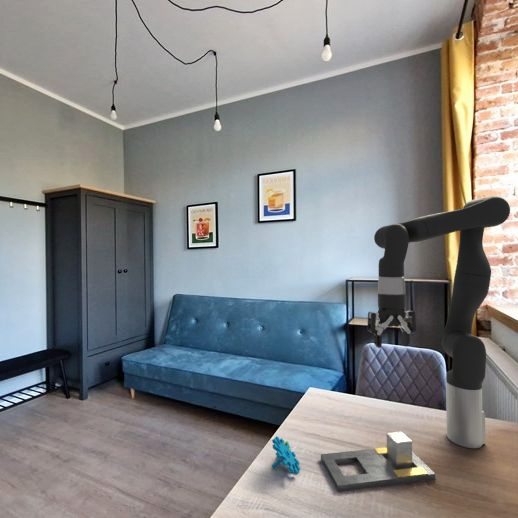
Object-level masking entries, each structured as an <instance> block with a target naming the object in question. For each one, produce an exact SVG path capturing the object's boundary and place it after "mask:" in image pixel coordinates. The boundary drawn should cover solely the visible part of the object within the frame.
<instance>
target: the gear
mask: <svg viewBox="0 0 518 518" xmlns="http://www.w3.org/2000/svg"><path fill="white" fill-rule="evenodd" d="M271 442H272V443H273V444H272V449H273V450H274V451H276V453H275V456H276V458H277V460H276V461H275V462H274V463H273V464H272V465H271V467H272V469H273V470H276V468H277V467H278V466H279V465H280V464H281V465H282V466H283V468H285V467H286V466H288V467H287V470H288V472H289V473H290V474H294V475H298V474H299V472H300V471H301V467H300V460H299V459H297V458H296V456H297V455H296V453H295V451H292V450H291V446H290V443H289V441H288V440H287V441H285V440H284V439H283V438H280V437H279V436H278V435H276V436H275V437H274V438H273V439H272V441H271Z"/></svg>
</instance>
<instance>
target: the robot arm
mask: <svg viewBox="0 0 518 518" xmlns="http://www.w3.org/2000/svg"><path fill="white" fill-rule="evenodd" d="M510 213H511V206H510V204H509V202H508V201H507V200H506V199H505V198H503V197H502V196H494V195H493V196H485V197H480V198H475V199H472V200H468V201H467V202H466V203H465V204H464V205H463V207H462V208H460V209H455V210H450V211H445V212H444V211H443V212H439V213H438V212H437V213H433V214H428V215H423V216H420V217H417V218H413V219H411V220H408V221H405V222H399V223H394V224H388V225H385V226H381V227H380V228H378V229H377V230H376V232H375V234H374V237H373V238H374V243H375V244H376V246H377V247H379V248H381V249H384V254H383V256H382V257H381V258H380V259H379V260H378V279H377V280H378V281H377V306H378V311H377V312H374V311H373V312H372V311H368V313H367V329H366V330H367V332H369V333H371V334H373V344H374V346H375V347H376V348H379V349H381V348H382V345H383V344H382V343H383V342H382V333H383V332H384V331H385V330H386V329H387V328H389V327H391V328H392V327H397V328H398V327H399V329H400V330H401V345H402V346H404V347H409V345H410V342H411V341H410V339H411V338H410V335H411V333H412V332H416V331H417V323H416V312H415V311H413V310H409V309H407V310H406V311H405V309H406V282H405V281H406V280H405V260H406V257H407V253H408V247H409V244H410V243H417V242H423V241H427V240H431V239H434V238H439V237H441V236H445V235H448V234H452V233H455V232H459V244H458V245H459V246H458V251H457V252H458V253H457V260H456V265H455V266H456V268H455V270H454V278H453V285H452V294H451V300H450V305H449V312H448V315H447V319H446V324H445V327H444V330H443V334H442V338H441V346H442V350H443V351H444V353H445V354H446V355H447V356H449V357H451V358H452V368H451V370H447V372H446V374H445V375H446V376H445V378H446V379H445V381H446V383H445V385H446V387H445V388H446V389H445V392H446V395H445V397H446V400H445V403H446V404H445V405H446V408H445V410H446V437H447V438H448V440H450V441H451V442H452V443H454V444H455V445H458V446H461V447H464V448H468V449H479V448H481V447H482V446H483V445H485V444H486V412H485V411H484V410H483V382H484V380H485V378H486V370H487V369H486V368H487V367H486V366H487V350H486V345H485V343H484V342H483V340H482V339H481V338H479V337H478V336H477V335H474V334H472V329H473V321H474V317H475V315H476V314H477V311H478V310H479V308H480V307H481V306H482V304H483V302H484V301H485V299H486V297H488V296H487V295H488V294H489V289H490V285H491V284H490V283H491V278H492V277H491V276H492V268H491V264H490V261H489V259H488V257H487V255H486V252H485V250H484V247H483V242H484V241H483V239H484V238H483V237H484V232H485V228H493V227H496V226H500V225H502V224H504V222H506V221H507V219H509V217H510ZM405 318H406V321H405V320H404V319H405ZM377 319H378V321H377Z"/></svg>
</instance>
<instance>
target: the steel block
mask: <svg viewBox="0 0 518 518" xmlns="http://www.w3.org/2000/svg"><path fill="white" fill-rule="evenodd" d="M386 447H387V459H386V460H387V461H388V462H389V464H390V465H391V466H392V467H393V468H394V469H395V470H400V469H408V468H413V467H412V452H413V440H411V438H409V437H408V436H407V435H406V434H405V433H404V432H403V431H393V432H387V433H386Z"/></svg>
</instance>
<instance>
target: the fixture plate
mask: <svg viewBox="0 0 518 518" xmlns="http://www.w3.org/2000/svg"><path fill="white" fill-rule="evenodd" d="M320 461H321V463H322V465H323V466H324V468H325V470H326V472H327V474H328V476H329V479H331V481H332V483H333V486H334V488H335V489H336V491H337V492H340V493H341V492H345V491H346V492H347V491H348V492H349V491H355V490H357V491H358V490H363V489H371V488H380V487H387V486H395V485H401V484H402V485H403V484H404V485H405V484H410V483H419V482H427V481H435V480H436V473H435V472H434V471H433V469H431V468H430V467H429V466H428V465H427V464H426V463H425V462H424V461H423V460H422V459H421V458H420V457H419V456H418V455H416V453H415V452H413V451H412V468H408V469H400V470H395V469H394V468H393V467H392V466H391V465H390V464H389V462H388V461H387V446H386V447H385V446H384V447H375V448H369V449H368V448H367V449H360V450H359V449H358V450H349V451H341V452H340V451H339V452H338V451H337V452H330V453H322V454H320ZM355 463H356V464H357V466H358V467H359V468H360V471H362V473H361V474H353V475H345V476H344V474H343V472H342V471H341V469H340V467H339V465H347V464H349V465H350V464H355Z"/></svg>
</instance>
